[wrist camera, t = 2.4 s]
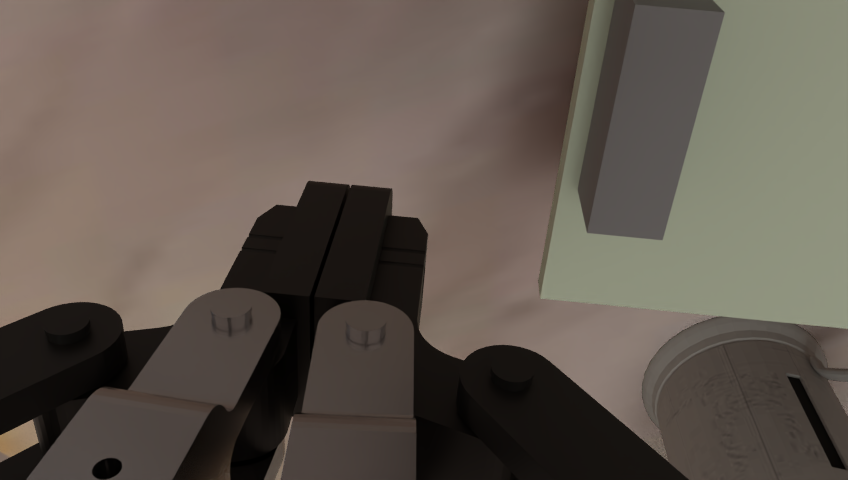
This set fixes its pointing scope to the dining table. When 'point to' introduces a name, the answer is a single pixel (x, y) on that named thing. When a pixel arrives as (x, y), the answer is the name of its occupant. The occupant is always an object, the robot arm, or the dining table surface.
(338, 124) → the dining table surface
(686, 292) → the lid
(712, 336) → the glass holder
